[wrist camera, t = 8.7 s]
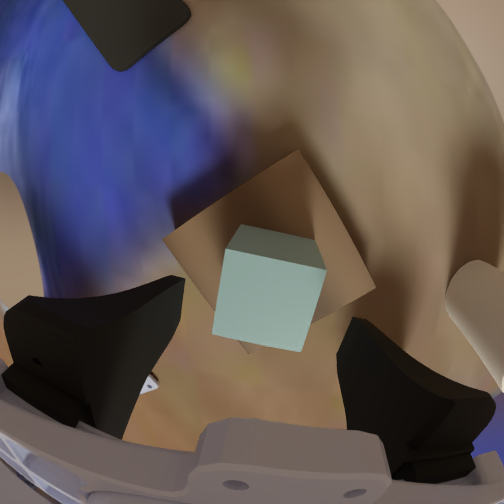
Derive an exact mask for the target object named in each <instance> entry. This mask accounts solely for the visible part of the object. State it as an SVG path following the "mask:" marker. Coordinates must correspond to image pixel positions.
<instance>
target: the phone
mask: <svg viewBox="0 0 504 504" xmlns="http://www.w3.org/2000/svg"><path fill="white" fill-rule="evenodd" d="M63 1H64V3H65V4H66V6H67V7H68V8H69V10H70V11H71V13H72V14H73V15H74V17H75V18H76V19H77V21H78V22H79V23H80V25H81V26H82V28H83V29H84V30H85V32H86V33H87V35H88V36H89V37H90V39H91V40H92V42H93V43H94V44H95V46H96V47H97V49H98V50H99V51H100V53H101V54H102V55H103V57H104V58H105V60H106V61H107V62H108V64H109V65H110V66H111V67H112V68H113V69H114V70H116V71H120V72H122V71H125V70H127V69H129V68H131V67H132V66H133V65H134V64H135V63H136V62H138V61H139V60H140V59H141V58H142V57H143V56H145V55H146V54H147V53H148V52H149V51H151V50H152V49H153V48H154V47H156V46H157V45H158V44H159V43H161V42H162V41H163V40H164V39H166V38H167V37H168V36H170V35H171V34H172V33H174V32H175V31H176V30H178V29H179V28H180V27H182V26H183V25H184V24H186V23H187V21H188V20H189V19H190V16H191V11H190V9H189V8H188V6H187V5H186V4H185V3H184V2H183V1H182V0H63Z"/></svg>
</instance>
